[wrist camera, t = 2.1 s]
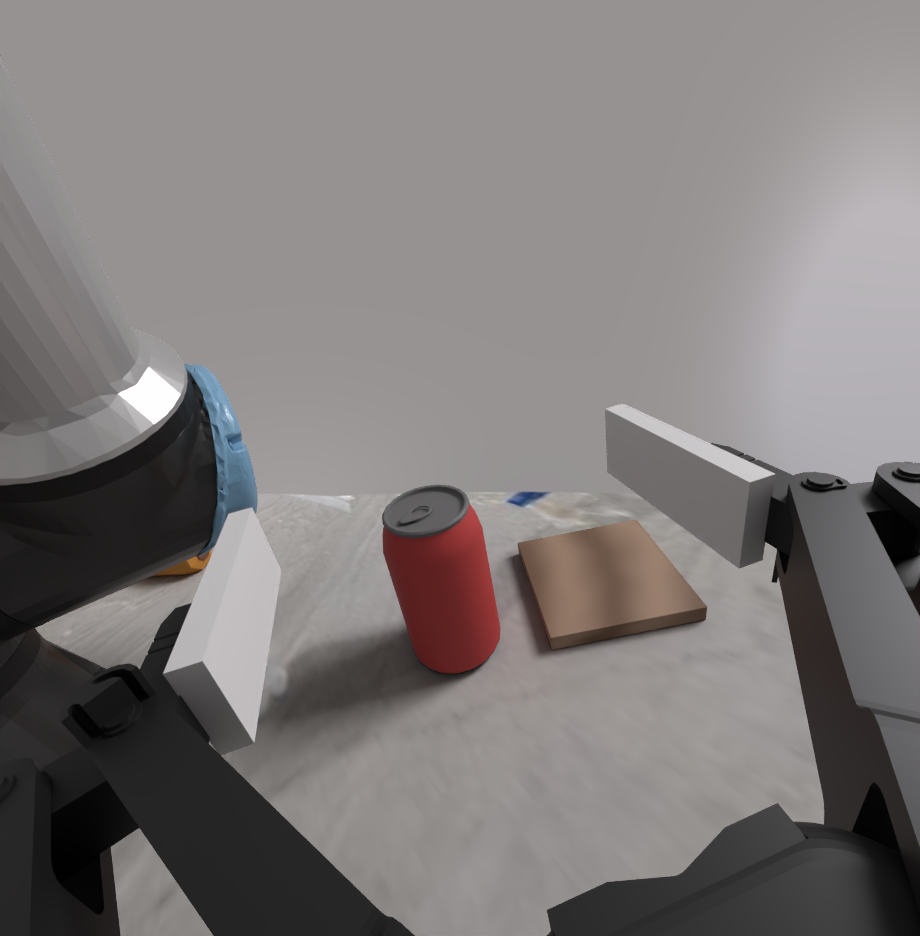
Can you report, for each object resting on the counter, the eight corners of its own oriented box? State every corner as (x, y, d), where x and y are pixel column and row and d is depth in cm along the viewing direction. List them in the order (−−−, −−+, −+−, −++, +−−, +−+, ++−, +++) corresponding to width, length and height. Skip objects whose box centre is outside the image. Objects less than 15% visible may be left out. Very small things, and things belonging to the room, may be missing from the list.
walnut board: (552, 650, 31) (550, 638, 31) (519, 553, 41) (517, 543, 41) (705, 619, 31) (706, 607, 31) (636, 530, 41) (636, 519, 41)
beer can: (399, 640, 35) (356, 511, 29) (465, 595, 38) (438, 470, 32) (448, 697, 30) (407, 554, 24) (520, 639, 33) (498, 501, 27)
